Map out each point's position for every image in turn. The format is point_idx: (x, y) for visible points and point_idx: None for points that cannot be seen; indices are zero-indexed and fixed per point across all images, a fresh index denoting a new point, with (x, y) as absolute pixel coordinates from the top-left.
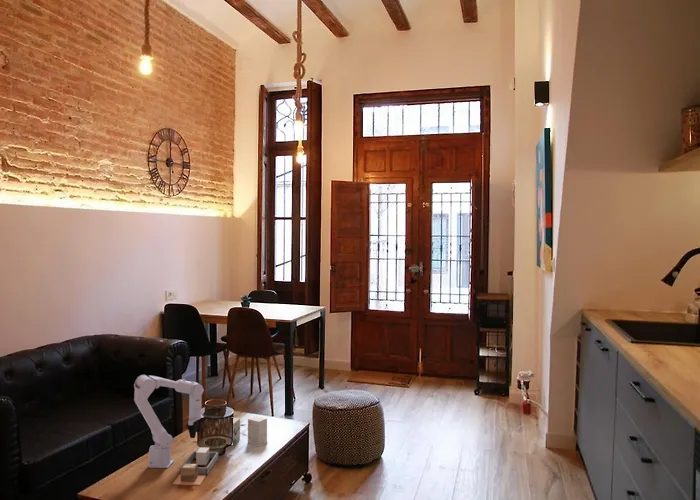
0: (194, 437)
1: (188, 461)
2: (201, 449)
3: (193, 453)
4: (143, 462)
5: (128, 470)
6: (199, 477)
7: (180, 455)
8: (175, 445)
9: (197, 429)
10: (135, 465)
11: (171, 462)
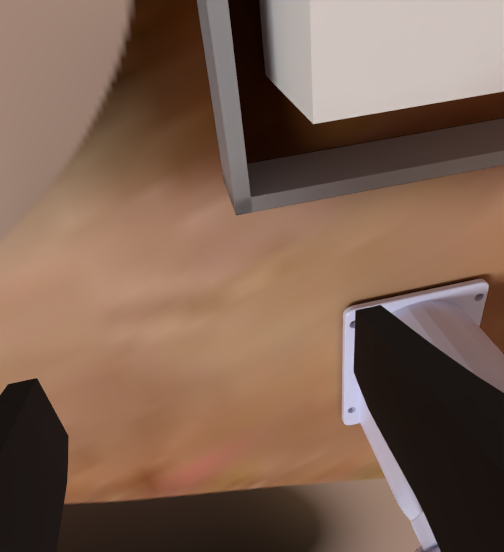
0: (389, 312)
1: (466, 145)
2: (405, 53)
3: (292, 187)
4: (371, 450)
5: None
6: None
7: (208, 320)
8: None
9: (42, 462)
10: None
11: (396, 302)
